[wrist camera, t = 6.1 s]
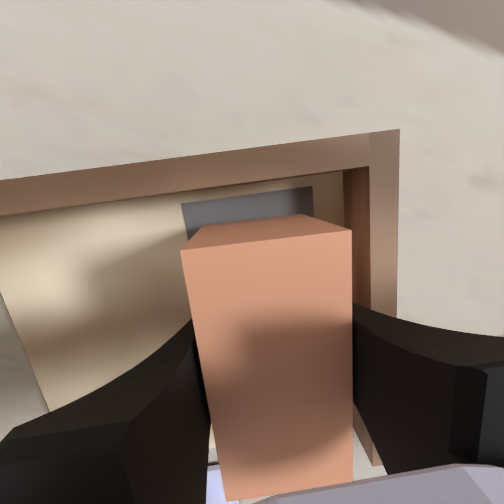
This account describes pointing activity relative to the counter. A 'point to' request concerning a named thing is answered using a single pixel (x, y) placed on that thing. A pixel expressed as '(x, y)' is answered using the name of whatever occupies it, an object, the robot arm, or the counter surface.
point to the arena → (174, 246)
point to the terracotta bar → (275, 350)
